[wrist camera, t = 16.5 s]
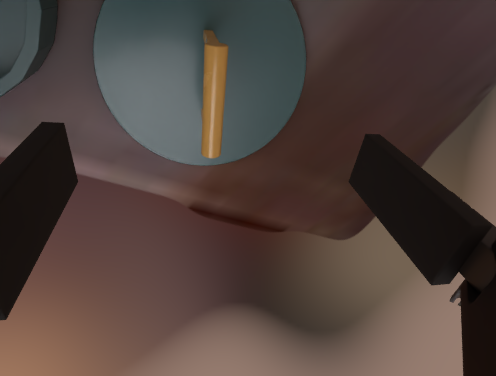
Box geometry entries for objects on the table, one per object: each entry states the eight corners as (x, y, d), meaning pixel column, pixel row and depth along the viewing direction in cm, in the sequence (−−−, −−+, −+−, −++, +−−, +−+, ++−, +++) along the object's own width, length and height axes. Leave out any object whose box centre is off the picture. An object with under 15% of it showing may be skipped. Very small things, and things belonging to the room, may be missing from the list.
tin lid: (112, 159, 28) (90, 216, 21) (75, -76, 19) (16, -104, 12) (283, 161, 31) (310, 211, 25) (323, -36, 22) (384, -40, 15)
